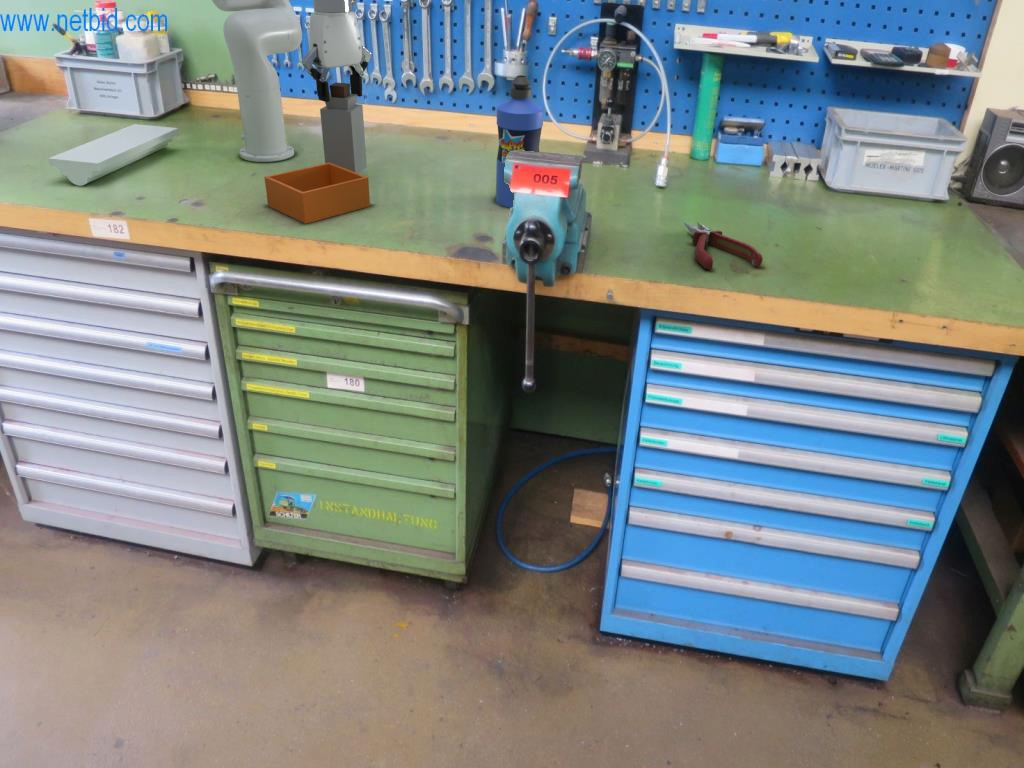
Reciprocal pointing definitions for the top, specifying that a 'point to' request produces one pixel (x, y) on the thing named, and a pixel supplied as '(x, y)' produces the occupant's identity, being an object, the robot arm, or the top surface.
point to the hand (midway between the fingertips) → (340, 97)
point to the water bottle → (516, 131)
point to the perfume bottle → (343, 129)
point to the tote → (317, 192)
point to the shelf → (111, 152)
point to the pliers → (720, 246)
